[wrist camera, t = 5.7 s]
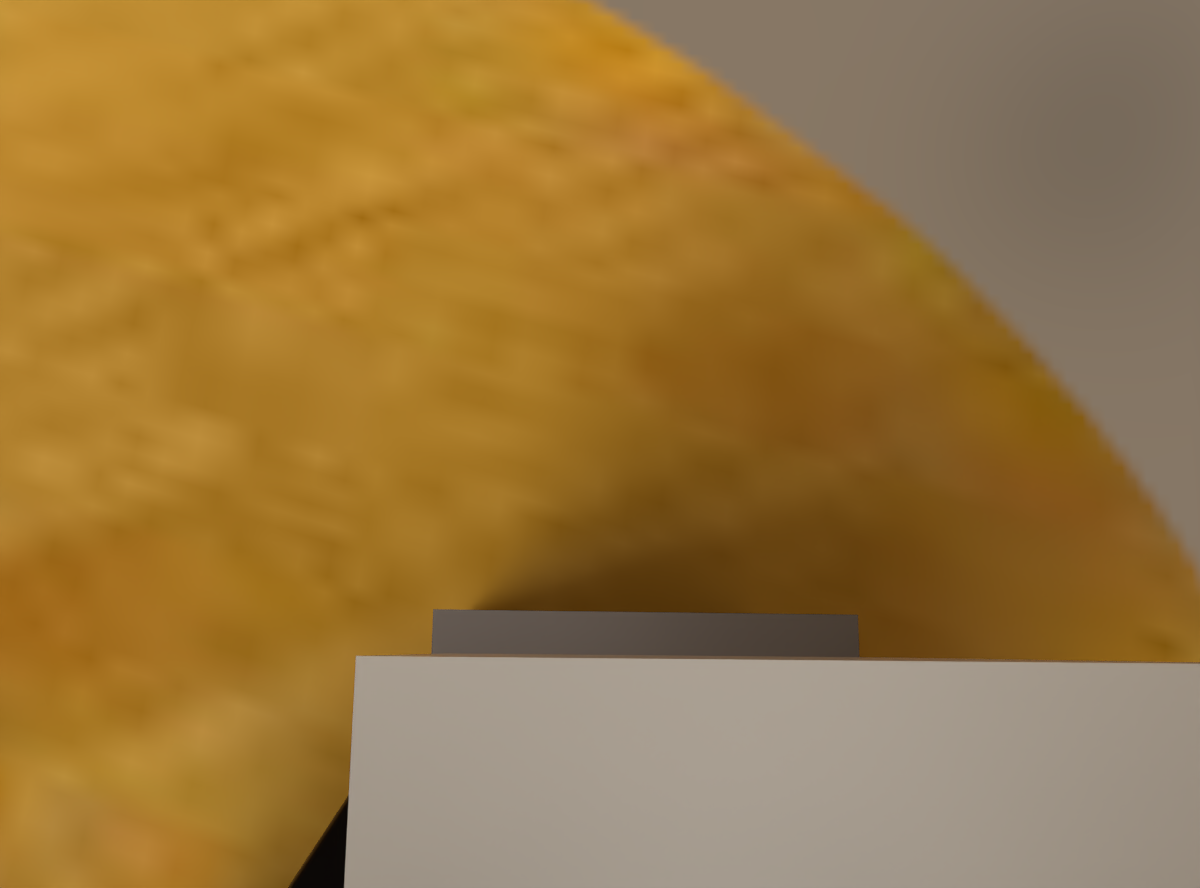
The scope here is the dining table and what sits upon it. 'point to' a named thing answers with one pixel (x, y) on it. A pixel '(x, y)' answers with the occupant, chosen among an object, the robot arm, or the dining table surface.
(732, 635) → the stand
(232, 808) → the dining table surface
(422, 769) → the off-white block
